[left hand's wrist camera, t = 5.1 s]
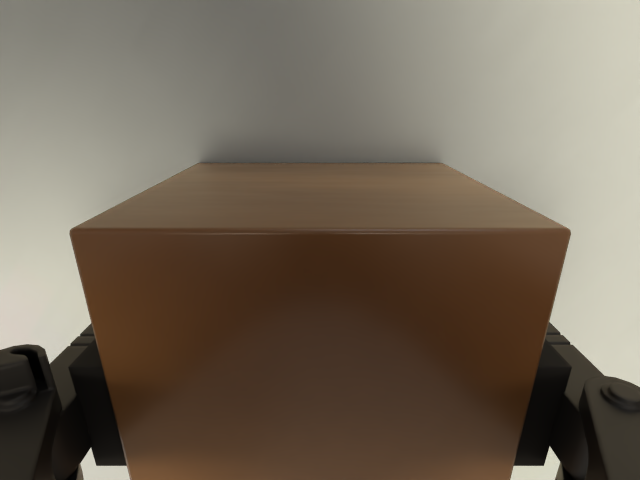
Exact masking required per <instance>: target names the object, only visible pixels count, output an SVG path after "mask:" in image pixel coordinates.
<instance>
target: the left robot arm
mask: <svg viewBox="0 0 640 480" xmlns="http://www.w3.org/2000/svg"><path fill="white" fill-rule="evenodd" d="M549 446H550V447H551V448H552V450H553V451H554V453H555V454H556V456H557V457H558V459H559V460H560V465H559V468H558V472H557V475H556V478H555V480H640V387H638V386H636V385H634V384H632V383H630V382H627V381H624V380H621V379H618V378H615V377H608V376H604V375H603V374H602V373H601V372H600V371H599V370H598V369H597V368H596V367H595V366H594V365H593V364H592V363H591V362H590V361H589V360H588V359H587V358H586V357H585V356H584V355H583V354H582V353H580V352H579V351H578V350H577V349H576V348H575V347H574V346H573V345H570V342H569V341H568V340H567V339H566V338H565V337H564V336H563V335H560V332H559V331H558V330H557V329H556V328H555V327H554V326H553V325H552V324H551V323H550V322H549V324H548V328H547V332H546V336H545V340H544V344H543V348H542V352H541V357H540V361H539V365H538V369H537V373H536V377H535V381H534V385H533V389H532V393H531V397H530V401H529V405H528V409H527V413H526V417H525V421H524V425H523V429H522V433H521V437H520V441H519V446H518V450H517V454H516V458H515V462H514V466H544V463H545V460H546V456H547V453H548V449H549ZM90 448H92V452H93V455H94V459H95V462H96V466H127V464H126V460H125V456H124V452H123V448H122V444H121V440H120V436H119V432H118V428H117V424H116V420H115V415H114V411H113V407H112V403H111V399H110V395H109V391H108V387H107V383H106V379H105V375H104V371H103V367H102V363H101V359H100V355H99V351H98V347H97V343H96V339H95V335H94V331H93V327H92V323H91V324H90V325H89V326H88V327H87V328H86V329H85V330H84V331H83V332H82V333H81V334H80V336H78V337H77V338H76V339H75V340H74V341H73V342H72V343H71V345H70V346H68V347H67V348H66V349H65V350H64V351H63V352H62V353H61V354H60V355H59V356H58V357H57V358H56V359H55V360H54V361H52V362H51V363H50V364H49V361H48V358H47V355H46V351H45V349H44V348H42V347H40V346H39V345H29V344H26V345H19V346H13V347H9V348H6V349H2V350H0V480H83V473H82V468H81V465H80V463H81V461H82V460H83V458H84V457H85V455H86V454H87V452H88V451H89V449H90Z"/></svg>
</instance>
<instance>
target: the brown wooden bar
mask: <svg viewBox="0 0 640 480" xmlns="http://www.w3.org/2000/svg"><path fill="white" fill-rule="evenodd" d="M570 235H571V232H570V229H568V228H566V227H564V226H563V225H561V224H559V223H557V222H555V221H553V220H551V219H549V218H547V217H545V216H543V215H541V214H539V213H537V212H536V211H534V210H532V209H530V208H528V207H526V206H524V205H522V204H520V203H518V202H516V201H514V200H512V199H510V198H509V197H507V196H505V195H503V194H501V193H499V192H497V191H495V190H493V189H491V188H489V187H487V186H485V185H484V184H482V183H480V182H478V181H476V180H474V179H472V178H470V177H468V176H466V175H464V174H462V173H460V172H458V171H457V170H455V169H453V168H451V167H449V166H447V165H445V164H443V163H198V164H196V165H194V166H192V167H190V168H188V169H186V170H184V171H182V172H180V173H178V174H176V175H174V176H172V177H170V178H169V179H167V180H165V181H163V182H161V183H159V184H157V185H155V186H153V187H151V188H149V189H147V190H145V191H143V192H142V193H140V194H138V195H136V196H134V197H132V198H130V199H128V200H126V201H124V202H122V203H120V204H118V205H116V206H115V207H113V208H111V209H109V210H107V211H105V212H103V213H101V214H99V215H97V216H95V217H93V218H91V219H89V220H87V221H86V222H84V223H82V224H80V225H78V226H76V227H74V228H72V229H71V230H70V238H71V242H72V246H73V250H74V254H75V258H76V262H77V266H78V270H79V274H80V278H81V282H82V286H83V290H84V294H85V298H86V302H87V306H88V310H89V314H90V319H91V323H92V327H93V331H94V335H95V339H96V343H97V347H98V351H99V355H100V359H101V363H102V367H103V371H104V375H105V379H106V383H107V387H108V391H109V395H110V399H111V403H112V407H113V411H114V415H115V420H116V424H117V428H118V432H119V436H120V440H121V444H122V448H123V452H124V456H125V460H126V464H127V468H128V472H129V476H130V480H510V478H511V474H512V470H513V466H514V462H515V458H516V454H517V450H518V446H519V441H520V437H521V433H522V429H523V425H524V421H525V417H526V413H527V409H528V405H529V401H530V397H531V393H532V389H533V385H534V381H535V377H536V373H537V369H538V365H539V361H540V357H541V352H542V348H543V344H544V340H545V336H546V332H547V328H548V324H549V320H550V316H551V312H552V308H553V304H554V300H555V296H556V292H557V288H558V284H559V280H560V276H561V272H562V268H563V264H564V259H565V255H566V251H567V247H568V243H569V239H570Z"/></svg>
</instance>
